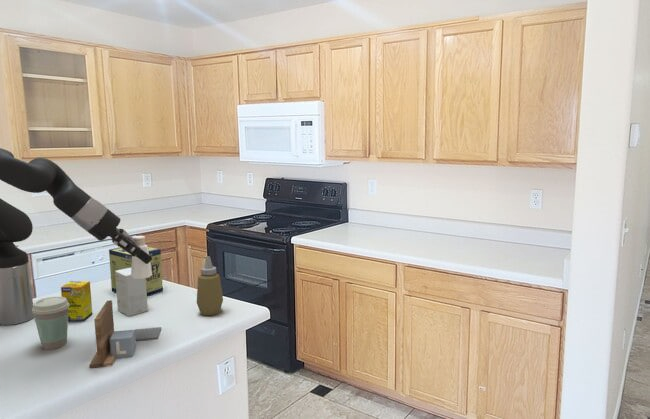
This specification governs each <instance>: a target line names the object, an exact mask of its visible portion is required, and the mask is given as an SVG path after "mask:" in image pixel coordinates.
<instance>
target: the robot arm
mask: <svg viewBox="0 0 650 419" xmlns="http://www.w3.org/2000/svg"><path fill="white" fill-rule="evenodd" d="M0 181H2V182H4V183H5V184H7V185H10V186H12V187H14V188H16V189H19V190H21V191H22V192H23V191H24V192H26V193H27V192H28V193H34V194H40V193H44V192H47V193H48V194H49V195H50V196H51V197H52V199H53V200H52V202H53V205H54V206H55V207H56V208H57V209H58V210H59V211H61V212H62V213H63V214H65V215H66V216H68V217H69V218H70V219H71V220H72V221H73V222H74V223H75V224H77V225H78V226H79V227H80V228H82V229H83V230H84V231H85V232H87V233H88V234H90V235H91V236H93V237H94V238H95V239H97V240H98V241H101V242H102V241H104V240H106V239H107V238H108V237H110V238H111V241H112V242H111V243H113V244H114V245H115V246H117V247H118V248H119V247H121V248H122V249H123V250H124V251H126V252H128V253H129V254H131V255H132V256H134V257H138V258H139V259H140V260H142V261H143V262H144V263H146V264H148V263H149V262H150V261H151V260H152V257H151V256H150V254H149V255H148V254H147V253H146V252H144V251H143V250H142V249H141V247H139V246H137V245H136V244H135V243H136V242H135V240H134V237H133V236H131V235H130V234H129V233H128V232H127V231H126V230H125V229H124V228H118V227H119V225H120V223H121V218H120V217H119V216H118V215H117V214H115V213H114V212H113V211H111V210H110V209H109V208H107V207H106V206H105V205H104V204H102V203H101V202H100V201H98V200H97V199H95V198H94V197H92V196H91V195H89V194H88V193H87V192H86V191H84V190H83V189H82V188H80V187H79V186H78V185H77V184H76V183H75V182H74V181H73V180H72V179H71V178H70V176H69V175H68V174H67V172H65V171H64V169H63V168H62V167H60V166H59V165H58V164H57V163H55V162H54V161H52V160H50V159H48V158H44V157H35V158H34V159H33V158H32V159H31V160H30V161H29V162H26V161H24V160H21V159H18V158H15V156H14V154H13V153H12V151H9V150H6V149H4V148H1V147H0ZM33 228H34V226H33V223H32V220H31V218H30V217H29V215H27V214H26V212H24V211H22V210H20V209H19V208H17V207H16V206H14V205H12V204H10V203H8V202H7V201H5V200H3V199H2V198H0V325H2V326H12V325H17V324H18V325H19V324H23V323H25V322H28V321H31V320H32V319H34V318H35V317H34V313H32V308H33V305H34V301H33V292H32V291H33V290H32V282H31V272H30V262H29V255H28V253H27V252H26V251H25V250H22V249H20V248H19V247H18V246H16V245H15V243H19V242H20V243H21V242H23V241H25V240H27V239H29V238H30V236H31V235H32V234H33ZM133 247H135V249H134V250H133V252H132V248H133Z"/></svg>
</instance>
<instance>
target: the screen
mask: <svg viewBox="0 0 650 419" xmlns="http://www.w3.org/2000/svg"><path fill="white" fill-rule="evenodd" d="M113 310H114V309H113V300H111V299H110V300H106V301H105V303H104V304H103V306H102V308H101V309H100V310H99V312H98V313H97V314H96V317H95V318H94V319H93V320H94V334H95V344H96V346H95V347H96V352H95V354H94V356H93V358H92V359H91V361H90V363H89V368H90V369H91V368H103V367H112V366H113V365H114V362H115V360H116V359H117V358H116V356H115V355H111V348H110V338H111V336H112V335H113V333H114V331H115V325H114V324H115V323H114V311H113Z"/></svg>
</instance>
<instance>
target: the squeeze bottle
mask: <svg viewBox="0 0 650 419" xmlns="http://www.w3.org/2000/svg"><path fill="white" fill-rule="evenodd" d="M211 259H212V258H211V256H210V255H209V256H206V257H205V259H204V260H205V261H204V266H203V267H200V275H199V276H197V288H196V290H197V291H196V305H197V307H198V309H199V312H200V314H201V315H203V316H215V315H217V314H219V313H220V312H221V309H222V305H223V302H224V296H223V288H222V285H221V283H222V282H221V276H220V274H219V273H217V267H216V266H213V263H212V260H211Z"/></svg>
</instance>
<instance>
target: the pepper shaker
mask: <svg viewBox="0 0 650 419" xmlns="http://www.w3.org/2000/svg"><path fill="white" fill-rule="evenodd" d="M133 238H134V240H135V242H136V243H135V244H136V245H137V246H139V247H141V249H142V250H143V251H144V252H146V253H147V254H148V255H149V251H148V247H149V246H148V245H147V244H146V243H145V242H146V236H144V235H136V236H134V237H133ZM134 249H135V247H133V248H132V252H133V250H134ZM151 275H152V269H151V263H150V262H149V263H148V264H146V263H144V262H143V261H142V260H140V259H139V258H138V257H134V256H132V266H131V277H132V278H134V279H144V278H148V277H150V276H151Z"/></svg>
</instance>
